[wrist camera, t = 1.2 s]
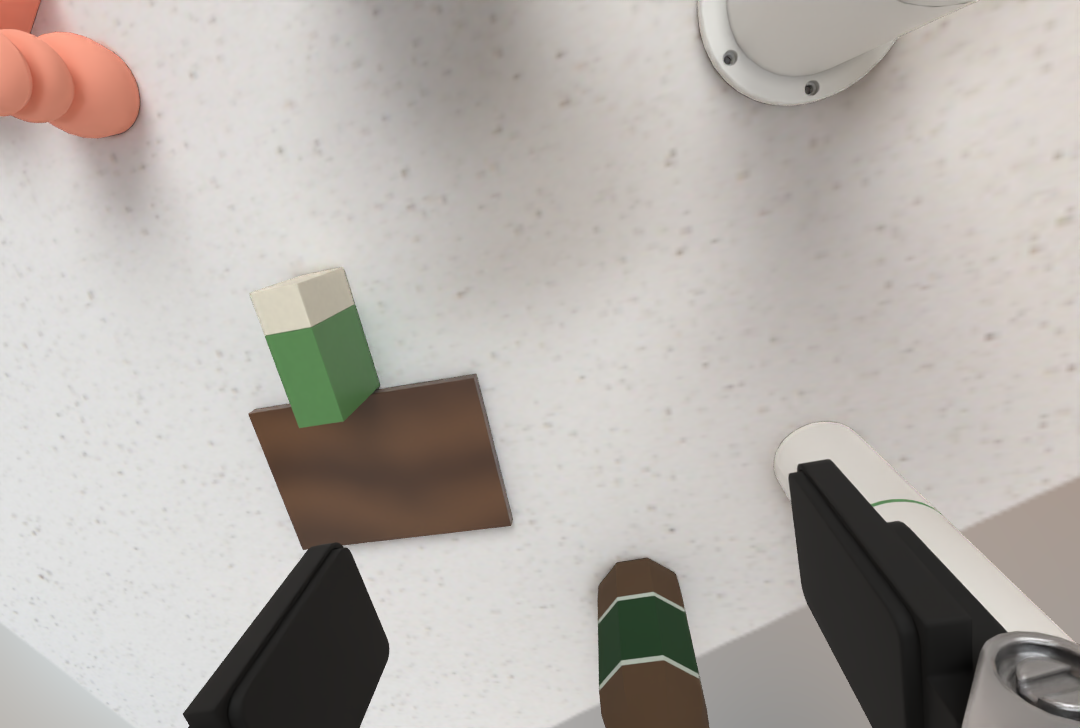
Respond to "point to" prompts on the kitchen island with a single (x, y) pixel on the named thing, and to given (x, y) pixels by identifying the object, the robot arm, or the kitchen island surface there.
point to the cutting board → (389, 466)
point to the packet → (317, 345)
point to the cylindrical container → (912, 519)
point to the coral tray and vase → (62, 78)
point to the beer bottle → (646, 651)
